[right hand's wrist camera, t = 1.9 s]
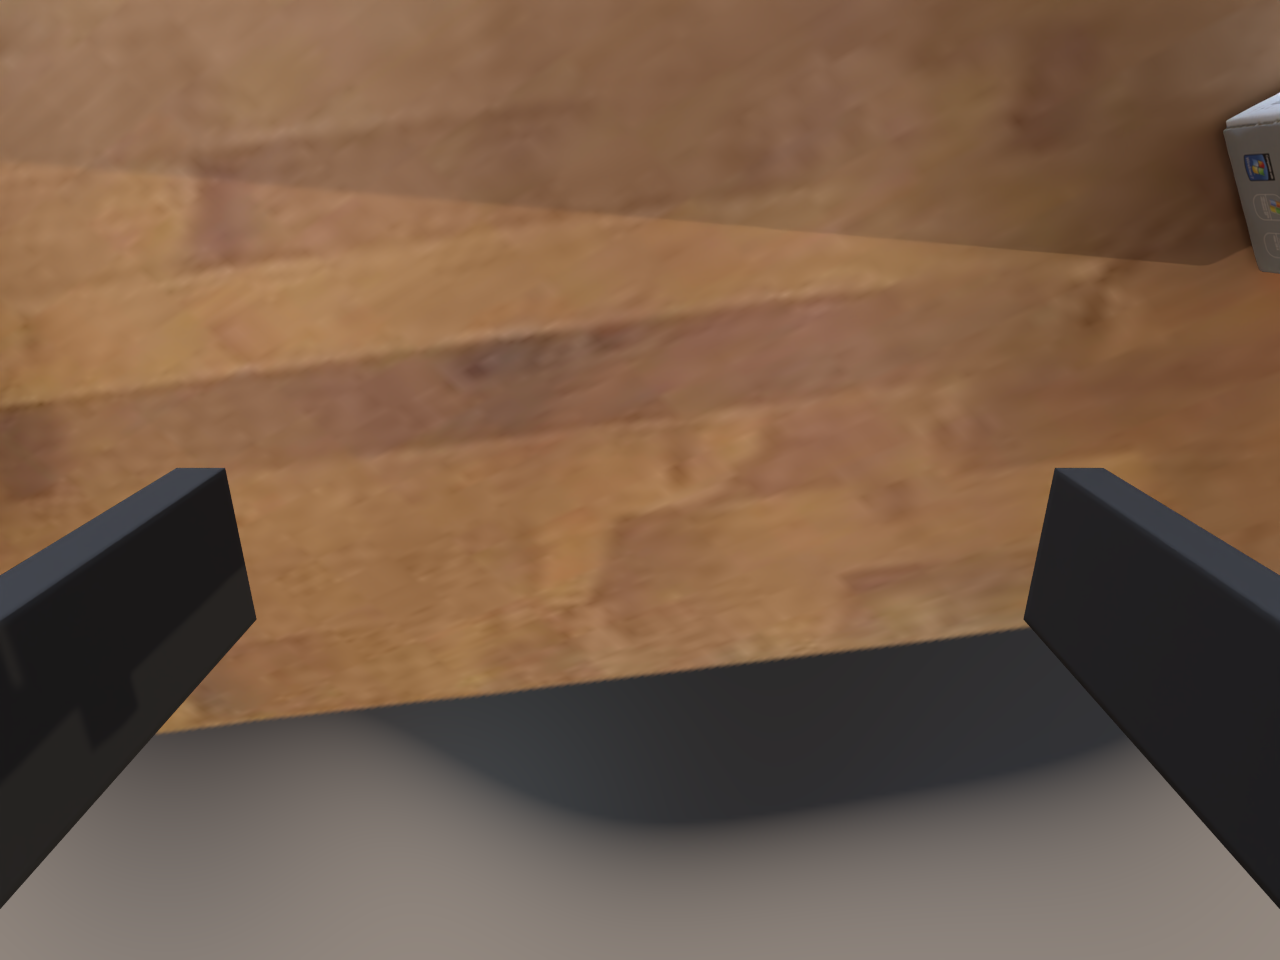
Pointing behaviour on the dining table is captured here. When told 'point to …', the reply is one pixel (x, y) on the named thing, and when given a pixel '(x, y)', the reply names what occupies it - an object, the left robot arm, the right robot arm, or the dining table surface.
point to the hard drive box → (1258, 176)
